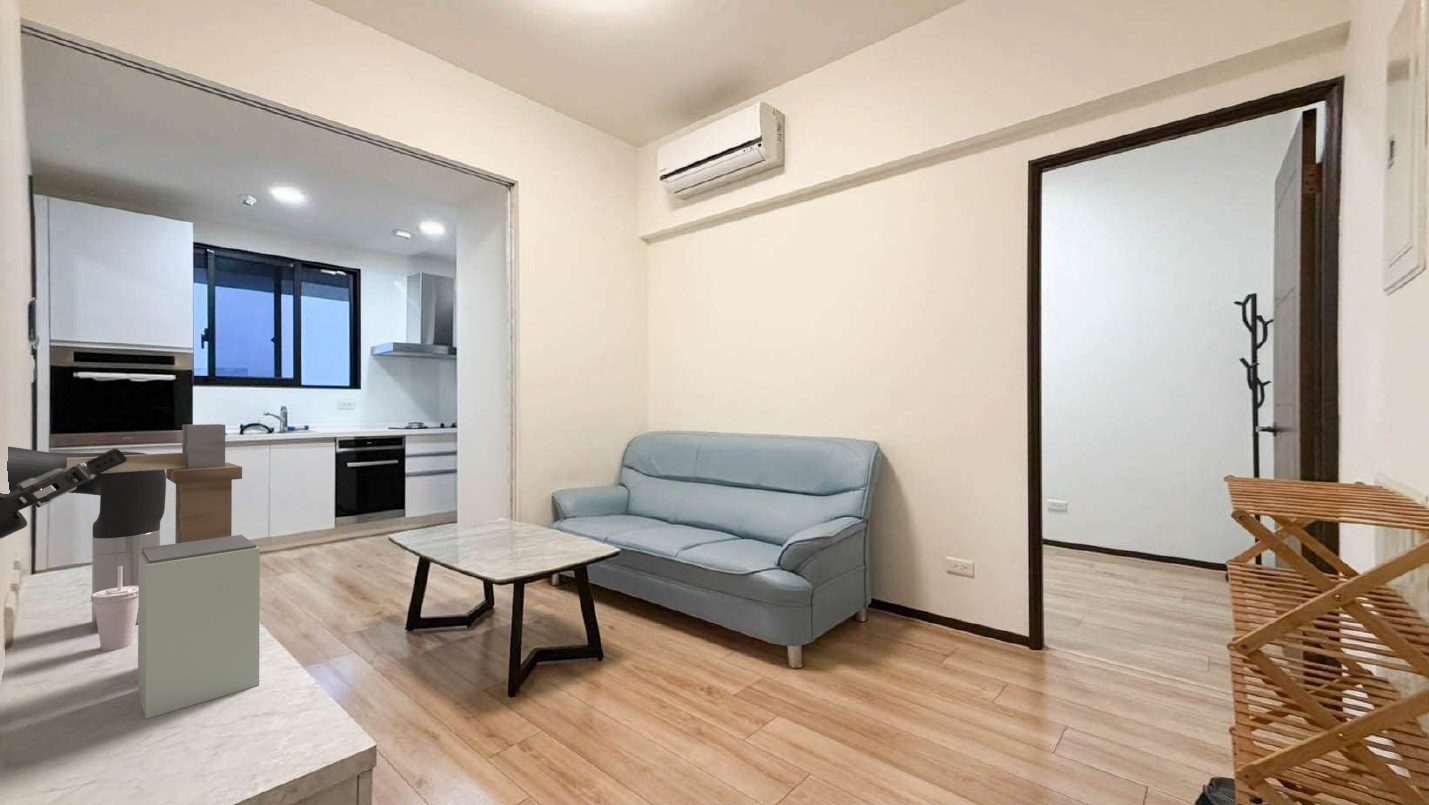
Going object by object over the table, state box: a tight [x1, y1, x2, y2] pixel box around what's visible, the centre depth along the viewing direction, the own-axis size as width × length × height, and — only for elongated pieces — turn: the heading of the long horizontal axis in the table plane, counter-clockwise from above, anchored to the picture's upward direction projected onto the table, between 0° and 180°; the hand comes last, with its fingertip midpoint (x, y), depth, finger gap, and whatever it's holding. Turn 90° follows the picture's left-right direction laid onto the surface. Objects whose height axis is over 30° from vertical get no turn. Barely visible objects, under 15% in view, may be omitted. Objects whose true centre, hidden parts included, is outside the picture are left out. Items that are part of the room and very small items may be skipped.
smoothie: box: [90, 566, 139, 652], centre depth 98 cm, size 6×6×14 cm
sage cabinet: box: [137, 534, 261, 719], centre depth 84 cm, size 12×12×21 cm
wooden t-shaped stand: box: [165, 462, 243, 544], centre depth 94 cm, size 12×8×32 cm, turn 49°
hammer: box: [67, 423, 226, 475], centre depth 89 cm, size 7×17×7 cm, turn 139°
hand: (121, 454), depth 87 cm, fingers closed on hammer, 2 cm apart
